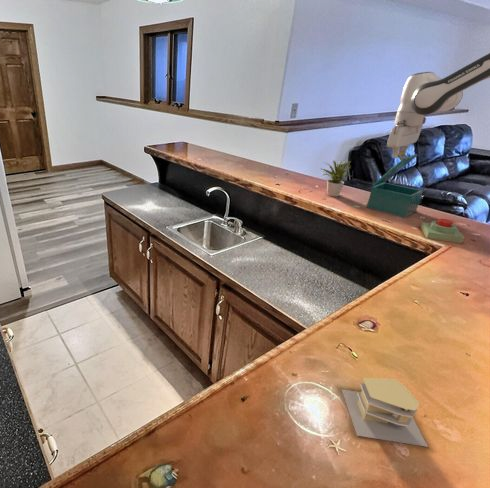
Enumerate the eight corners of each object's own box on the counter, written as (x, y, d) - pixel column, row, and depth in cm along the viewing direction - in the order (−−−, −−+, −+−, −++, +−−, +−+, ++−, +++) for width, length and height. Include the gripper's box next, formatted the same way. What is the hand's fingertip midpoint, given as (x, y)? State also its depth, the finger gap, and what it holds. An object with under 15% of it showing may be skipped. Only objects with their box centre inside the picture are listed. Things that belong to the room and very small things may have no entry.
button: (448, 224, 121) (450, 219, 121) (452, 228, 118) (454, 223, 117) (435, 222, 123) (437, 218, 122) (438, 226, 120) (440, 222, 119)
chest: (416, 211, 143) (423, 190, 139) (404, 217, 137) (411, 196, 133) (378, 201, 154) (384, 182, 150) (366, 207, 147) (372, 187, 143)
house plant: (328, 187, 172) (335, 154, 165) (355, 195, 162) (364, 159, 155) (311, 192, 165) (317, 158, 158) (338, 200, 155) (346, 164, 148)
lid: (417, 155, 138) (408, 147, 139) (405, 159, 131) (396, 150, 133) (385, 182, 149) (377, 174, 151) (373, 186, 143) (364, 178, 145)
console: (453, 231, 124) (457, 221, 123) (461, 243, 116) (466, 232, 114) (420, 227, 128) (423, 217, 126) (426, 238, 120) (430, 227, 118)
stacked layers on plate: (356, 435, 54) (365, 411, 52) (341, 389, 62) (348, 366, 60) (427, 447, 53) (440, 422, 50) (402, 398, 60) (412, 374, 58)
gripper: (406, 122, 124) (396, 161, 130) (428, 118, 135) (417, 154, 141) (387, 121, 129) (378, 158, 135) (409, 117, 140) (400, 152, 146)
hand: (398, 156), depth 138 cm, fingers closed on lid, 5 cm apart
